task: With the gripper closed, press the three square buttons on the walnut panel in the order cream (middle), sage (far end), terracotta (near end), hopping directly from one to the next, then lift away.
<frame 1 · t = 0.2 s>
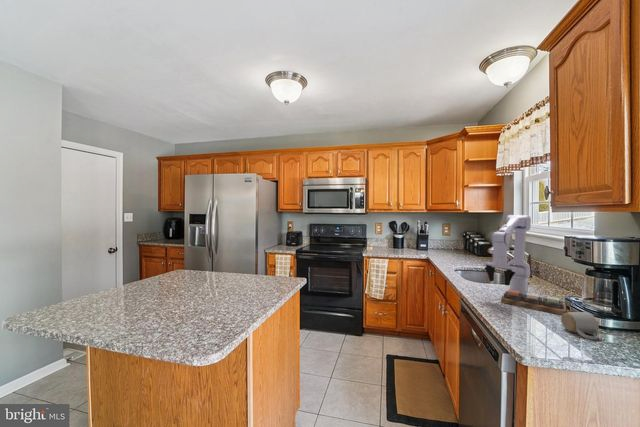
hand: (499, 283, 134), 10 cm above the countertop, tool pointing down, fingers open, 7 cm apart
ceramic mug: (582, 334, 102), on the countertop
sage button: (552, 300, 126), point 4 cm above the countertop, slide at 0.0 cm
button panel: (532, 305, 132), on the countertop
cream button: (532, 296, 131), point 4 cm above the countertop, slide at 0.0 cm
terracotta button: (513, 293, 136), point 4 cm above the countertop, slide at 0.0 cm
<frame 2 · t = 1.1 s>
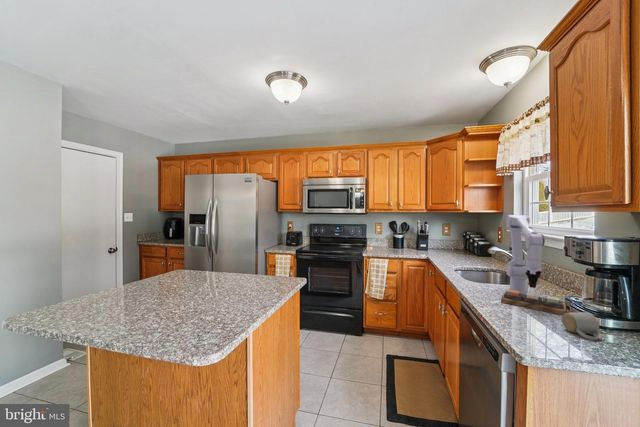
hand: (532, 286, 131), 9 cm above the countertop, tool pointing down, fingers open, 4 cm apart
nothing on the countertop moved.
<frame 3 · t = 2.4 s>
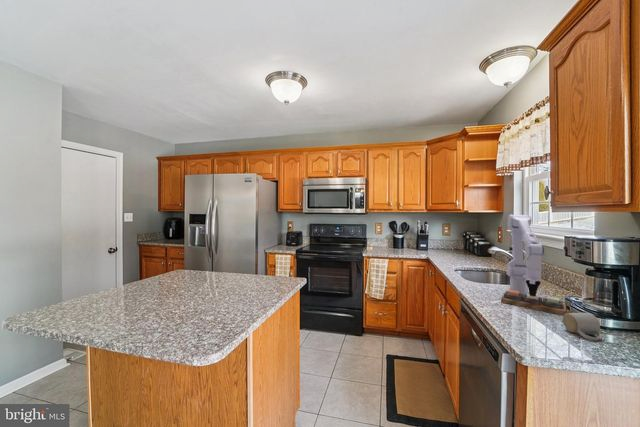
hand: (532, 295, 131), 5 cm above the countertop, tool pointing down, fingers closed, pressing on cream button
cream button: (532, 298, 131), point 4 cm above the countertop, slide at 0.6 cm, touching gripper
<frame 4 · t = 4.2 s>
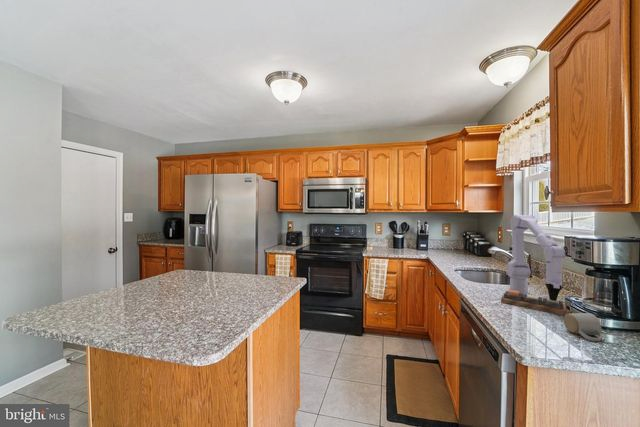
hand: (552, 300, 126), 5 cm above the countertop, tool pointing down, fingers closed, pressing on sage button
sage button: (552, 302, 126), point 3 cm above the countertop, slide at 0.8 cm, touching gripper
cream button: (532, 298, 131), point 3 cm above the countertop, slide at 0.8 cm
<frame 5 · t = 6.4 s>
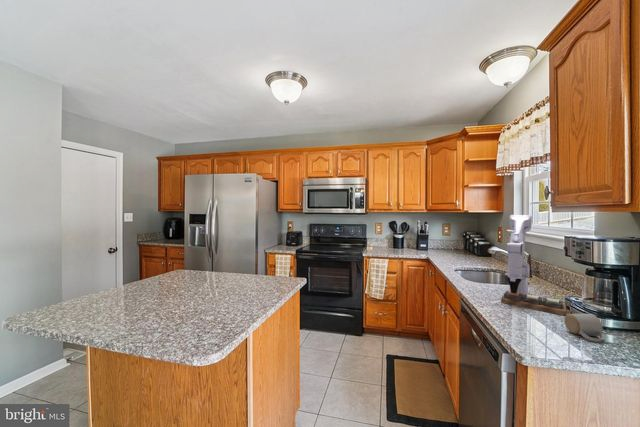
hand: (513, 292, 136), 5 cm above the countertop, tool pointing down, fingers closed, pressing on terracotta button
sage button: (552, 302, 127), point 3 cm above the countertop, slide at 0.8 cm
terracotta button: (513, 295, 136), point 3 cm above the countertop, slide at 0.8 cm, touching gripper
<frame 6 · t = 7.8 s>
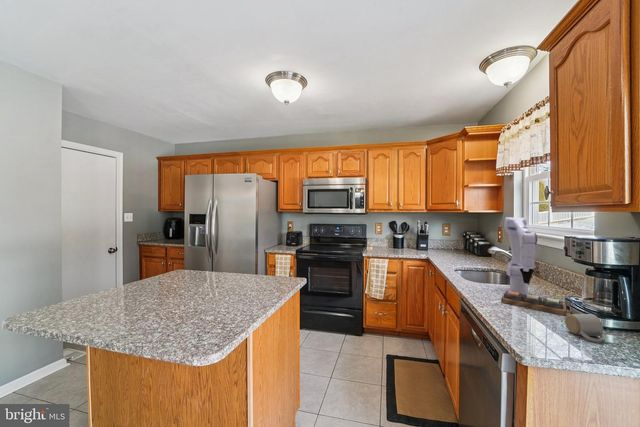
hand: (526, 283, 137), 9 cm above the countertop, tool pointing down, fingers closed
terracotta button: (513, 295, 136), point 3 cm above the countertop, slide at 0.8 cm
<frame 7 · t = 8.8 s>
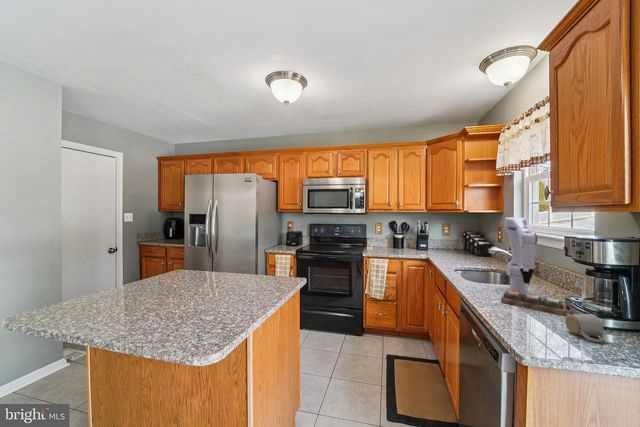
hand: (526, 283, 137), 9 cm above the countertop, tool pointing down, fingers closed
at the end: cream button slide at 0.8 cm; sage button slide at 0.8 cm; terracotta button slide at 0.8 cm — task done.
